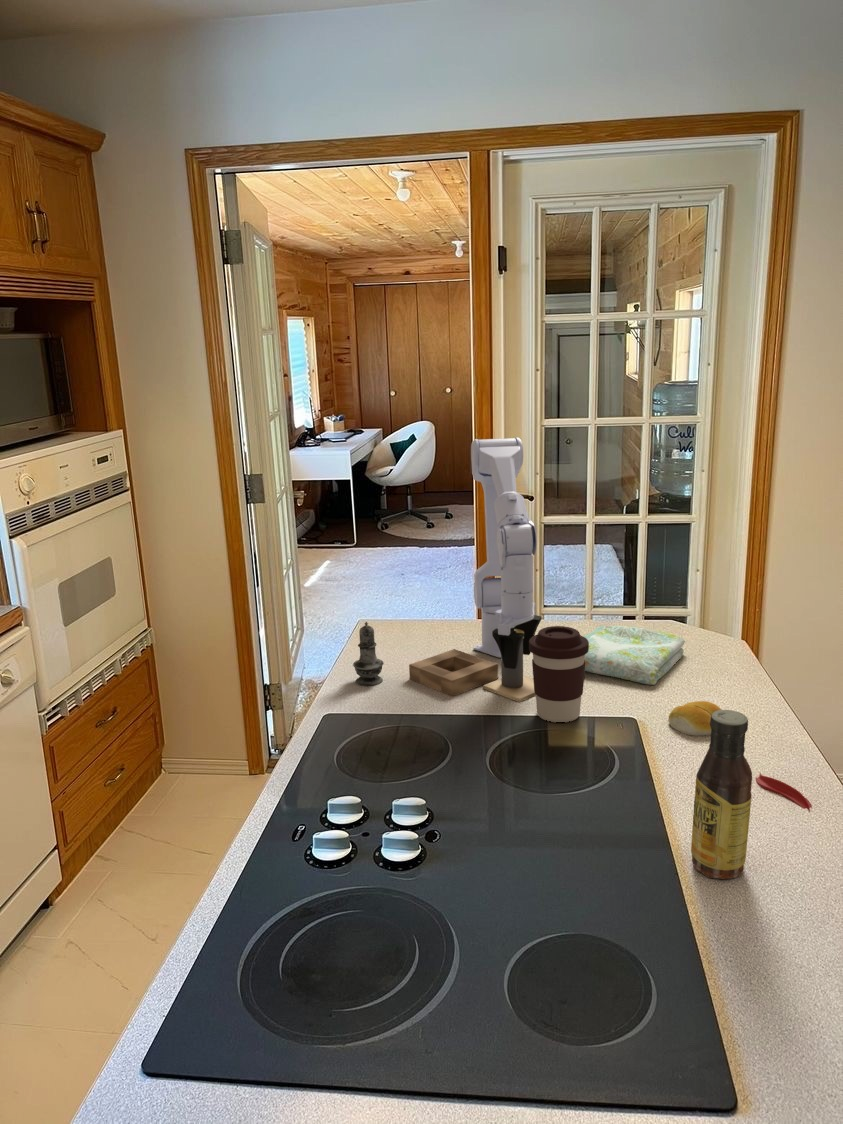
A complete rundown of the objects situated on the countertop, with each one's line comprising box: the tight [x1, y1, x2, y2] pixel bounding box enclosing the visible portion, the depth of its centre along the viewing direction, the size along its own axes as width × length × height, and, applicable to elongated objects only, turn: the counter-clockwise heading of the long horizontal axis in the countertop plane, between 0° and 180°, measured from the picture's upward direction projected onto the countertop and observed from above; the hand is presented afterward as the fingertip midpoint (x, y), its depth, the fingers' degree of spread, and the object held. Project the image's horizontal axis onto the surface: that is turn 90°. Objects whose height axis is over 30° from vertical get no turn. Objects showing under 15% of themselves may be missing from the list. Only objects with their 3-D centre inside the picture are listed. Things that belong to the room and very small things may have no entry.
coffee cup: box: [529, 625, 589, 723], centre depth 145 cm, size 10×10×15 cm
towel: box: [582, 625, 686, 686], centre depth 170 cm, size 18×21×5 cm
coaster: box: [482, 674, 536, 703], centre depth 159 cm, size 9×9×1 cm
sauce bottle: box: [690, 709, 753, 880], centre depth 100 cm, size 6×6×20 cm
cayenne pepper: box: [755, 772, 813, 813], centre depth 119 cm, size 12×5×2 cm, turn 4°
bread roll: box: [668, 700, 722, 737], centre depth 141 cm, size 8×9×4 cm
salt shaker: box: [352, 621, 385, 687], centre depth 163 cm, size 6×6×12 cm
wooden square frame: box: [408, 648, 499, 697], centre depth 164 cm, size 12×12×3 cm
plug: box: [500, 629, 524, 688], centre depth 158 cm, size 4×4×10 cm
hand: (517, 660), depth 157 cm, fingers open, 7 cm apart
